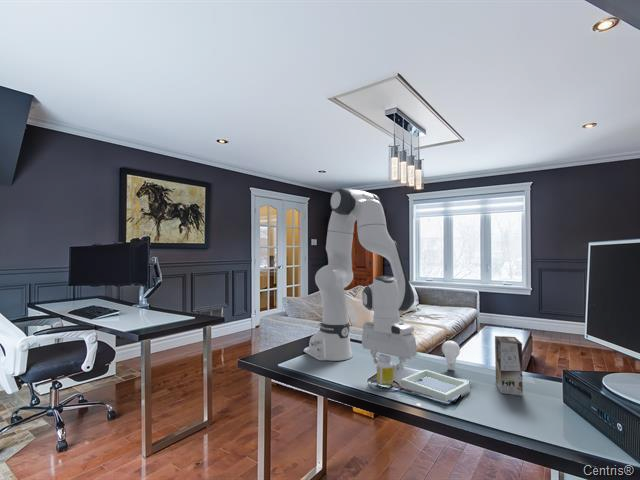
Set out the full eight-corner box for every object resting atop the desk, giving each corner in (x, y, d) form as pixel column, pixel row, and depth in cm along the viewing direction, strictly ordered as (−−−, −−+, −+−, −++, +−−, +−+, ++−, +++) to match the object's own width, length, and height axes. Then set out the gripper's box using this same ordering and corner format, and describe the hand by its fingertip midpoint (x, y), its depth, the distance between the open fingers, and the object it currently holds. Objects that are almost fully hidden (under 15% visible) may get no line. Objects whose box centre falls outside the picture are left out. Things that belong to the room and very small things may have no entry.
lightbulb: (460, 368, 130) (460, 339, 130) (459, 374, 124) (459, 343, 124) (442, 366, 132) (442, 337, 133) (441, 371, 126) (440, 341, 127)
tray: (401, 388, 111) (401, 379, 112) (425, 377, 120) (425, 369, 121) (446, 405, 99) (446, 394, 99) (469, 392, 108) (469, 382, 108)
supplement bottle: (396, 385, 114) (396, 355, 114) (388, 390, 110) (387, 359, 110) (382, 381, 118) (382, 352, 118) (373, 385, 114) (373, 356, 114)
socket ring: (362, 384, 115) (362, 383, 115) (382, 376, 122) (382, 376, 122) (387, 395, 106) (387, 394, 106) (408, 386, 113) (408, 385, 113)
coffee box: (523, 396, 105) (522, 343, 106) (500, 393, 107) (499, 341, 108) (516, 385, 114) (515, 336, 115) (495, 382, 116) (494, 335, 116)
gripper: (357, 322, 120) (358, 362, 120) (407, 331, 105) (408, 376, 104) (368, 319, 124) (370, 358, 124) (418, 327, 109) (420, 371, 109)
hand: (388, 366), depth 114 cm, fingers open, 8 cm apart
